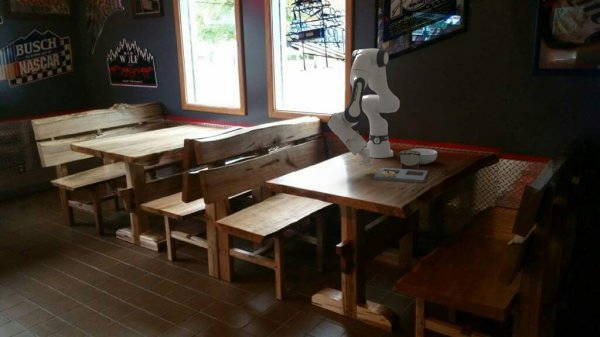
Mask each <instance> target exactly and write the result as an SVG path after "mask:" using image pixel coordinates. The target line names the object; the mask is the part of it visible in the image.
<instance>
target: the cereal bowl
mask: <svg viewBox="0 0 600 337" xmlns="http://www.w3.org/2000/svg"><path fill="white" fill-rule="evenodd" d="M410 150H413V151H419V152H420V153H421V156H420V160H419V165H428V164H430V163H432V162H434V161H436V160H437V157H438V151H436V149H435V150H434V149H430V148H412V149H410Z"/></svg>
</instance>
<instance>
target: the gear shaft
mask: <svg viewBox="0 0 600 337" xmlns="http://www.w3.org/2000/svg"><path fill="white" fill-rule="evenodd" d="M362 151H363V152H364V153H365V154H366V155H367V157H365V158H364V157H363V156H362V158H361V159H362V160H360V161H359V166H363V167H370V166H372V165H373V164H374V162H373V160H371V157H370V148H367V147H365V148H363V149H362Z"/></svg>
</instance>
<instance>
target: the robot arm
mask: <svg viewBox="0 0 600 337" xmlns="http://www.w3.org/2000/svg"><path fill="white" fill-rule="evenodd" d="M350 58H351V60H350V61H351V63H352V66H351V68H350V74H349V84H350V85H351V87H352V88H351V89H352V90H351V94H350V99H349V100H350V101H349V103H348V105H347V106H346V107H345V109H344V110H343V111H339V112H333V113H332V114H331V116H330V117H329V118H328V120H327V126H328V127H329V129H330V130H331V131H332V132H333V133H334V135H336V136H337V137H338V138H339V140H341V142H342V143H343V144H344V145H345V146H346V148H347V149H348V150H349V152H350V153H351V154H352V155H354V156H356V155H359V156H363V157H364V158H365V157H367V155H366V154H365V153H364V152H363V151H362V149H363V148H370V158H373V159H374V158H376V159H382V158H383V159H386V158H391V157H394V150H392V149H391V143H390V141H389V132H388V131H389V130H388V129H389V128H388V126H389V124H388V121H387V120H386V119H385V118H383V117H382V116H381V115H380V114H382V113H384V114H386V113H387V114H390V113H396V112H397V111H398V110H399V108H400V104H401V101H400V99H399V98H398V96H396V95H395V94H394V93H393V92H392V91H391V90H390V87H389V86H388V81H387V79H388V78H387V70H386V66H387V65H388V63H389V52H388V51H387V50H386V49H385V48H373V47H371V48H362V49H361V48H359V49H355V50H353V52H352V54H351V57H350ZM367 85H368V87H369V89H370V90H371V91H373V92H374V93H376V94H367V95H364V92H365V88H366V87H367ZM364 114H365V115H366V116H367V119H368V122H369V133H368V134H369V135H368V138H369V141H368V142H367V141H366V140H365V139H364V138H363V136H362V135H360V132H359V131H358V130H354V128H352V127H353V126H356V125H357V124H358V123H359V122H360V120H362V118H363V116H364Z"/></svg>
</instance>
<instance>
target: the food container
mask: <svg viewBox="0 0 600 337" xmlns="http://www.w3.org/2000/svg"><path fill="white" fill-rule="evenodd" d="M420 156H421V153H420V152H419V151H413V150H411V149H408V150H401V151H399V157H400V169H410V170H419V165H420V164H419V160H420Z"/></svg>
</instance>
